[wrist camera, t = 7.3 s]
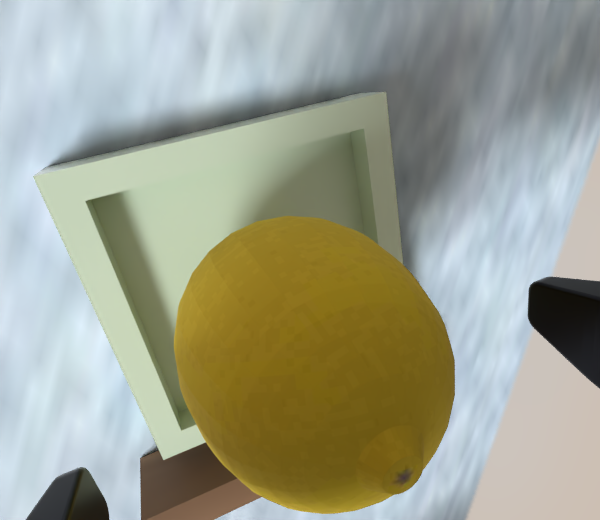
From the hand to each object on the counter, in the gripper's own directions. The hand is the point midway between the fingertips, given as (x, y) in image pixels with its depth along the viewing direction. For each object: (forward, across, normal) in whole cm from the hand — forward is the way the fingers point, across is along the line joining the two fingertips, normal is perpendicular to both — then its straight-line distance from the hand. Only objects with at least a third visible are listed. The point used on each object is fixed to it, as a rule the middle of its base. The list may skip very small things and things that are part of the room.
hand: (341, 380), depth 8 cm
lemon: (+6, 0, 0) cm, 6 cm away
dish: (+6, 0, 0) cm, 6 cm away
